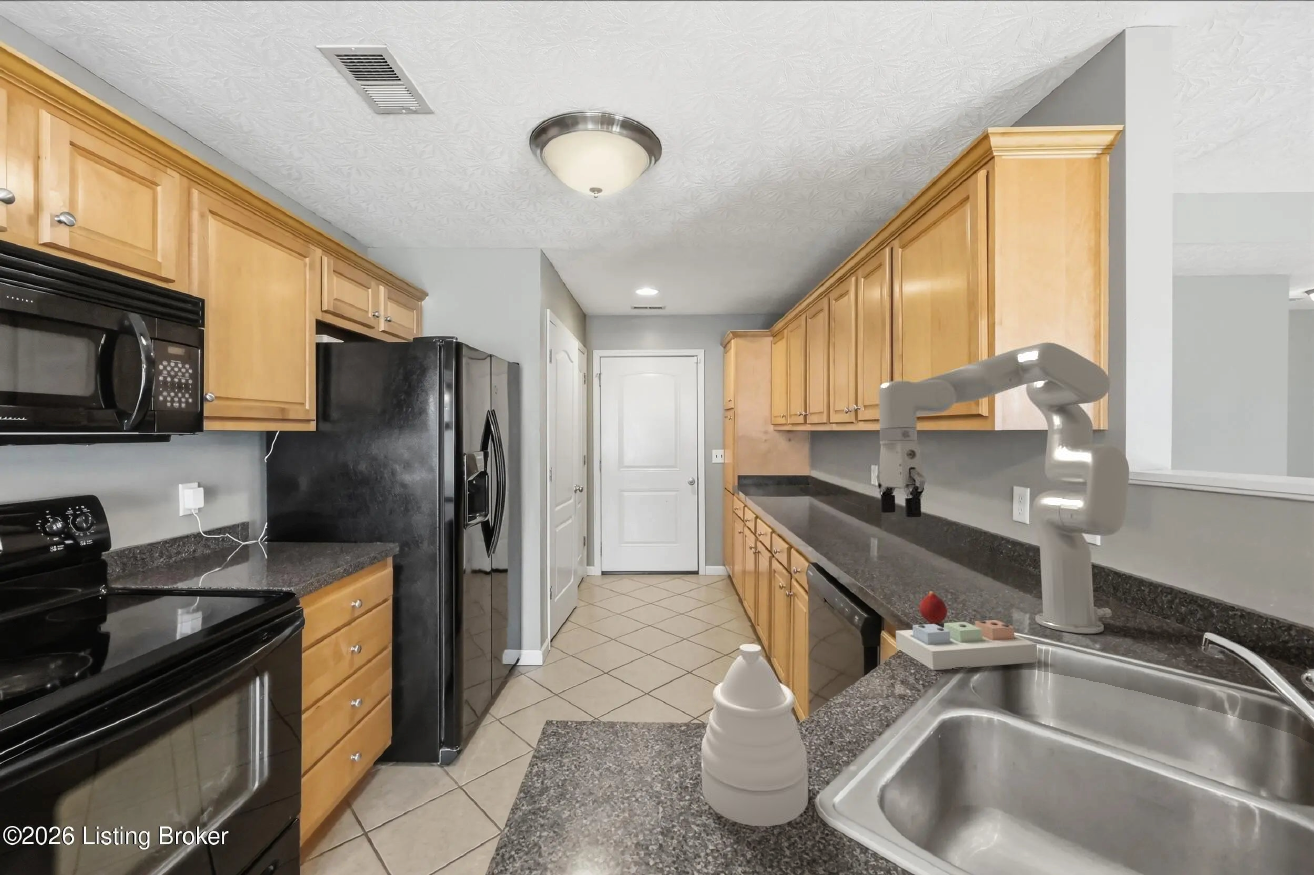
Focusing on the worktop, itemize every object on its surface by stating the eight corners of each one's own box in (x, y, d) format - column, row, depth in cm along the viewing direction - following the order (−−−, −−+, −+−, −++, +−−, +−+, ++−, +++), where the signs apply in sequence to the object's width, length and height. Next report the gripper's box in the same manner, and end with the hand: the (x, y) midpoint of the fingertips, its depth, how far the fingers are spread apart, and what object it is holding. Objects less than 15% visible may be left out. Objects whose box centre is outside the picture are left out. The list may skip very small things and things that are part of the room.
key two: (934, 638, 109) (934, 622, 109) (950, 646, 104) (949, 630, 104) (913, 640, 108) (912, 624, 108) (928, 648, 103) (927, 631, 103)
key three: (996, 634, 110) (995, 619, 110) (1014, 642, 106) (1013, 626, 106) (975, 635, 110) (974, 620, 110) (992, 643, 105) (992, 627, 105)
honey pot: (814, 832, 57) (809, 664, 58) (697, 820, 59) (693, 659, 60) (802, 764, 70) (798, 627, 71) (706, 756, 72) (703, 624, 73)
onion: (941, 621, 128) (939, 588, 128) (952, 629, 122) (950, 594, 122) (916, 621, 128) (915, 588, 129) (926, 629, 123) (924, 594, 123)
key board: (990, 641, 114) (990, 624, 114) (1037, 662, 102) (1036, 643, 102) (896, 647, 111) (895, 630, 111) (932, 670, 99) (932, 651, 99)
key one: (965, 636, 109) (965, 620, 110) (982, 644, 105) (982, 628, 105) (944, 637, 109) (943, 622, 109) (960, 646, 104) (960, 629, 104)
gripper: (938, 435, 108) (941, 518, 107) (892, 438, 125) (894, 510, 125) (904, 435, 107) (906, 519, 107) (862, 438, 125) (864, 511, 124)
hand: (900, 514), depth 116 cm, fingers open, 9 cm apart
